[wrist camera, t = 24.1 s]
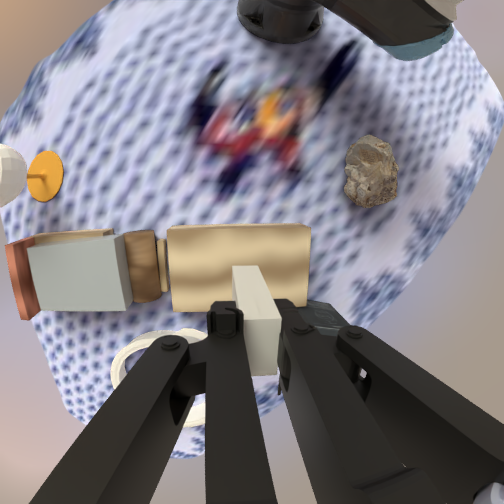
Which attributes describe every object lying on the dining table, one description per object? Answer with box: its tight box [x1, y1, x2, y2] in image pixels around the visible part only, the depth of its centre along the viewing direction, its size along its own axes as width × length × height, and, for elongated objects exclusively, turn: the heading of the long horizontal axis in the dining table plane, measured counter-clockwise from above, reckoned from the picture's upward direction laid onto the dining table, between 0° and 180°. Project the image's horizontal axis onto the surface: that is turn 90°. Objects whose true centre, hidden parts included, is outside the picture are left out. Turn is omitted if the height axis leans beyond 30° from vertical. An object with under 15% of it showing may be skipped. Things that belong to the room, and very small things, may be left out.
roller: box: [124, 230, 162, 303], centre depth 39 cm, size 10×5×5 cm
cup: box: [0, 144, 64, 207], centre depth 27 cm, size 9×9×16 cm
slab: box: [27, 234, 134, 311], centre depth 34 cm, size 10×16×4 cm, turn 92°
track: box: [5, 223, 311, 320], centre depth 36 cm, size 12×46×10 cm, turn 90°
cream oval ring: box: [111, 328, 208, 427], centre depth 44 cm, size 29×22×5 cm
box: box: [296, 300, 350, 336], centre depth 42 cm, size 8×6×11 cm
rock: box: [344, 135, 399, 208], centre depth 38 cm, size 9×12×10 cm
